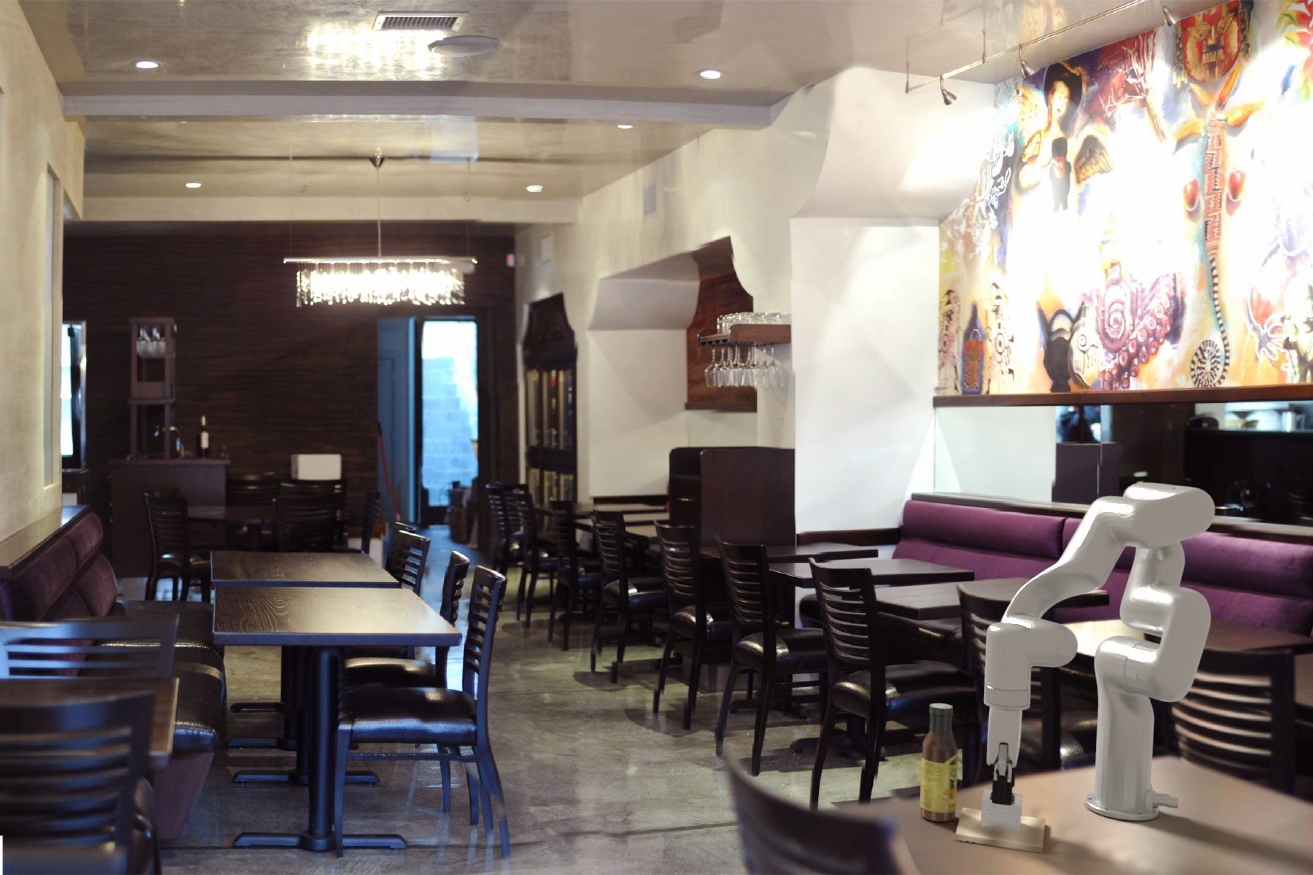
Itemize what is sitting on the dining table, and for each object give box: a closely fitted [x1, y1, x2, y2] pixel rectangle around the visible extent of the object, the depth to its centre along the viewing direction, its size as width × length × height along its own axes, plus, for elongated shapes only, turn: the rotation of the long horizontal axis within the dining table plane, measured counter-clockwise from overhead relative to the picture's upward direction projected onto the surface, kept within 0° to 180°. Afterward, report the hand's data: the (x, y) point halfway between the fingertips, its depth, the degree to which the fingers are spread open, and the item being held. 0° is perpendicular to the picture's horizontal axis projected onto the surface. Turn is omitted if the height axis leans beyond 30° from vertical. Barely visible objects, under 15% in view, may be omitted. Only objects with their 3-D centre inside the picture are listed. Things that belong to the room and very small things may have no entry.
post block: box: [954, 807, 1046, 854], centre depth 206 cm, size 14×14×7 cm
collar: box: [980, 788, 1024, 835], centre depth 206 cm, size 6×6×5 cm
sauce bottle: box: [919, 702, 959, 823], centre depth 213 cm, size 6×6×20 cm
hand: (1003, 794), depth 206 cm, fingers open, 9 cm apart
